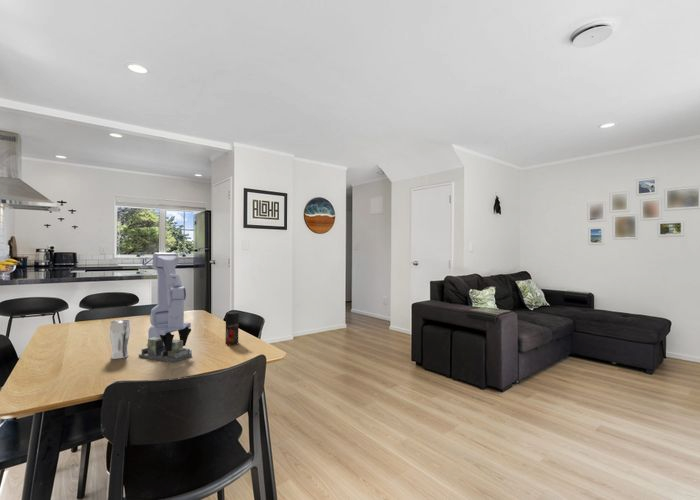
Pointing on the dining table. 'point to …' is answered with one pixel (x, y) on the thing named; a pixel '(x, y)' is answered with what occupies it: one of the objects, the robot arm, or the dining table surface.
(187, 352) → the grey slotted rack
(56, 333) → the dining table surface
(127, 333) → the beer glass
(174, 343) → the sage green rectangular prism
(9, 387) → the dining table surface
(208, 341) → the dining table surface
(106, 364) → the dining table surface
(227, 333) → the deodorant
